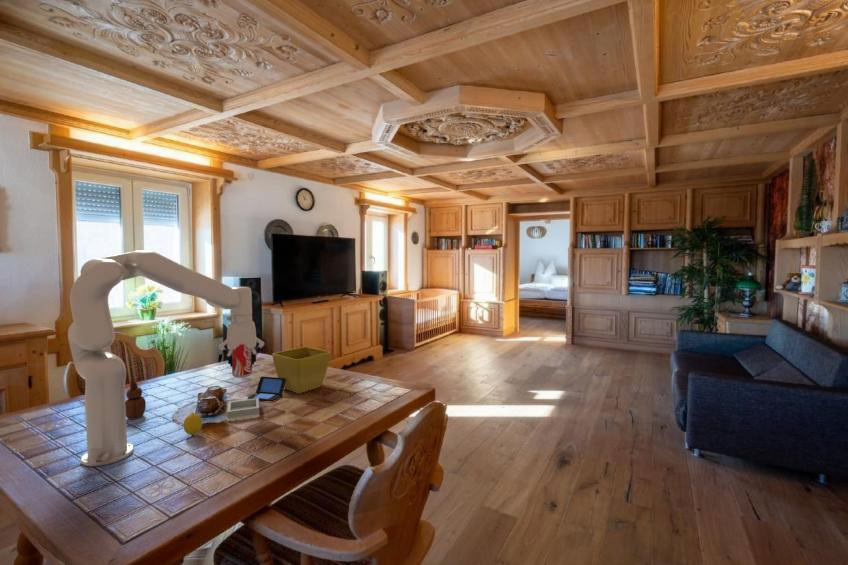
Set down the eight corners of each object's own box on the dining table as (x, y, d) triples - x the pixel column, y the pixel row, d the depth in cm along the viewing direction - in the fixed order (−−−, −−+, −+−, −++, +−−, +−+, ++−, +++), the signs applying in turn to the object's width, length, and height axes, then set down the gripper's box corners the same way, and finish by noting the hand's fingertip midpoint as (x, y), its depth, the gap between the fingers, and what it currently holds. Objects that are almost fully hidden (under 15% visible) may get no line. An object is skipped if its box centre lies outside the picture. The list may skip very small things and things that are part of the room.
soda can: (229, 375, 155) (228, 342, 154) (247, 371, 160) (247, 339, 159) (236, 379, 150) (236, 345, 149) (255, 375, 155) (255, 342, 154)
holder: (259, 417, 152) (259, 408, 152) (227, 422, 148) (226, 412, 148) (258, 405, 164) (258, 397, 164) (228, 409, 160) (228, 400, 160)
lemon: (199, 430, 141) (199, 408, 140) (204, 435, 137) (204, 412, 136) (181, 435, 137) (181, 412, 136) (186, 441, 133) (185, 417, 132)
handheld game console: (246, 400, 170) (245, 383, 170) (261, 392, 181) (260, 376, 180) (273, 403, 168) (272, 385, 167) (286, 394, 179) (286, 377, 178)
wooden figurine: (133, 421, 148) (131, 381, 147) (120, 420, 149) (118, 380, 148) (149, 414, 154) (148, 376, 153) (137, 413, 156) (135, 375, 155)
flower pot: (305, 379, 200) (305, 345, 199) (331, 386, 189) (331, 351, 187) (271, 389, 184) (271, 353, 183) (297, 398, 173) (297, 359, 172)
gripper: (215, 321, 147) (216, 369, 148) (266, 319, 154) (266, 365, 155) (216, 318, 154) (217, 364, 155) (265, 316, 160) (266, 360, 162)
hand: (242, 364), depth 155 cm, fingers closed on soda can, 7 cm apart
